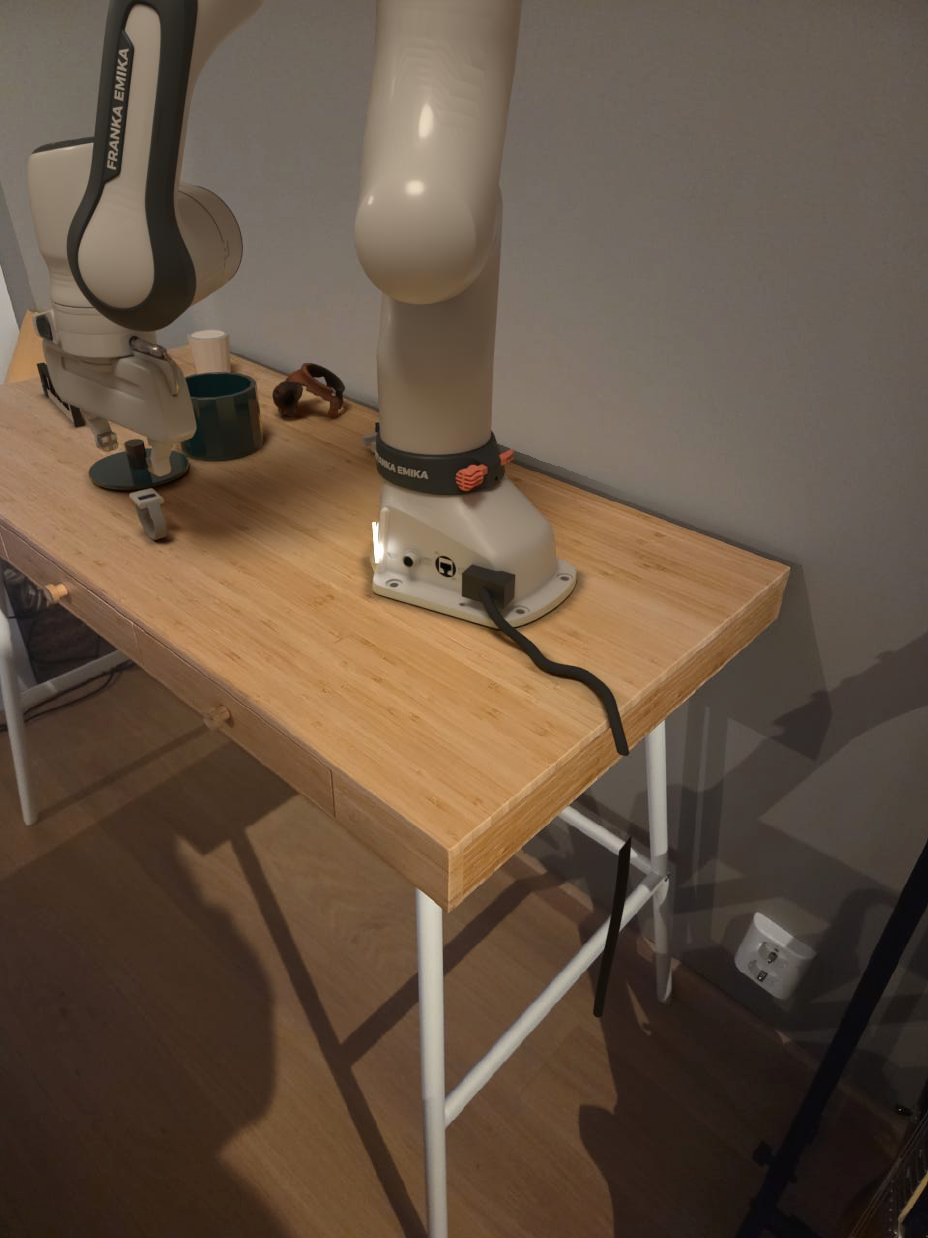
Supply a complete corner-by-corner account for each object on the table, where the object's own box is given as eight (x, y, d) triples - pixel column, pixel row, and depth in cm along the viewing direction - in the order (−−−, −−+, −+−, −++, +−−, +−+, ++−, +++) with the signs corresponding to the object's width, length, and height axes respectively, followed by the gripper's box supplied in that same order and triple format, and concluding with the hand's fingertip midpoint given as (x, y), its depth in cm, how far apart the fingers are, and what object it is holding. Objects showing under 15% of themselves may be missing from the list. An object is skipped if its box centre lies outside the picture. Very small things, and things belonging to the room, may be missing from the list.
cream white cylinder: (229, 382, 139) (223, 339, 135) (188, 381, 139) (181, 339, 135) (239, 369, 145) (233, 328, 141) (199, 369, 145) (193, 328, 141)
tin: (280, 442, 117) (273, 383, 112) (214, 467, 109) (204, 405, 105) (228, 424, 123) (219, 366, 118) (162, 446, 115) (150, 386, 111)
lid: (208, 471, 108) (203, 440, 106) (126, 502, 100) (118, 469, 98) (153, 448, 115) (147, 418, 112) (71, 476, 107) (62, 444, 104)
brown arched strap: (297, 401, 133) (320, 357, 129) (338, 438, 131) (362, 394, 127) (247, 403, 123) (269, 355, 119) (290, 443, 121) (315, 396, 117)
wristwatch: (133, 528, 95) (123, 488, 92) (156, 522, 96) (148, 482, 93) (152, 550, 91) (143, 508, 88) (177, 543, 92) (168, 502, 89)
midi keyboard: (44, 394, 133) (35, 363, 130) (52, 393, 133) (44, 362, 130) (74, 427, 121) (66, 393, 118) (84, 425, 122) (75, 391, 119)
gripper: (200, 342, 78) (219, 479, 85) (79, 304, 88) (106, 429, 96) (142, 356, 74) (167, 498, 81) (22, 314, 84) (54, 444, 91)
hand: (133, 460), depth 89 cm, fingers open, 8 cm apart
